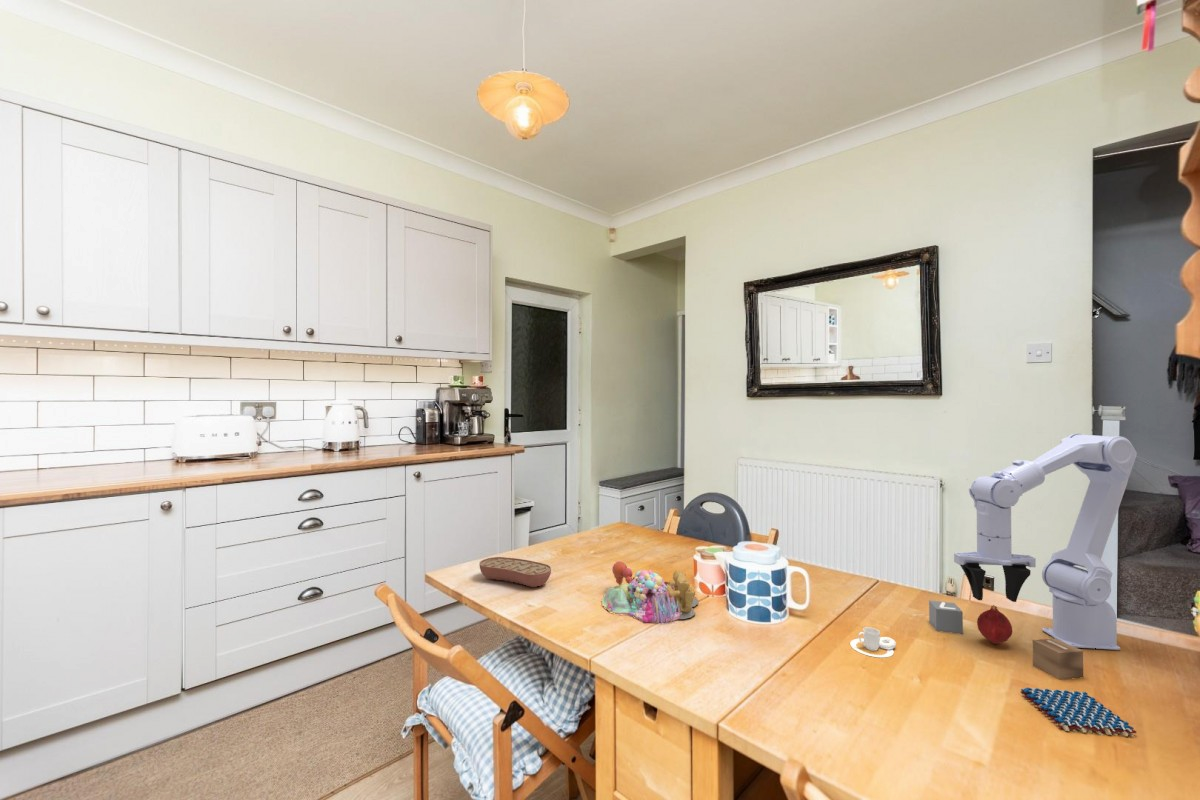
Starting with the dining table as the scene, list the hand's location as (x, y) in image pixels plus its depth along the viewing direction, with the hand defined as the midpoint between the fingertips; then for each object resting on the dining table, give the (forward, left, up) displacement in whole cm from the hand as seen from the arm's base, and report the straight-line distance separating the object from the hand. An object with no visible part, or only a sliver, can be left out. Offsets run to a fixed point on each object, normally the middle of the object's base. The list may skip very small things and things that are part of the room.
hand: (994, 599), depth 105 cm
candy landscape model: (+73, -12, -10) cm, 74 cm away
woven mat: (+2, +24, -10) cm, 26 cm away
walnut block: (-5, +10, -10) cm, 15 cm away
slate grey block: (+6, -7, -10) cm, 13 cm away
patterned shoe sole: (+112, -23, -10) cm, 114 cm away
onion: (0, 0, -10) cm, 10 cm away
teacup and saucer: (+24, +7, -10) cm, 27 cm away
